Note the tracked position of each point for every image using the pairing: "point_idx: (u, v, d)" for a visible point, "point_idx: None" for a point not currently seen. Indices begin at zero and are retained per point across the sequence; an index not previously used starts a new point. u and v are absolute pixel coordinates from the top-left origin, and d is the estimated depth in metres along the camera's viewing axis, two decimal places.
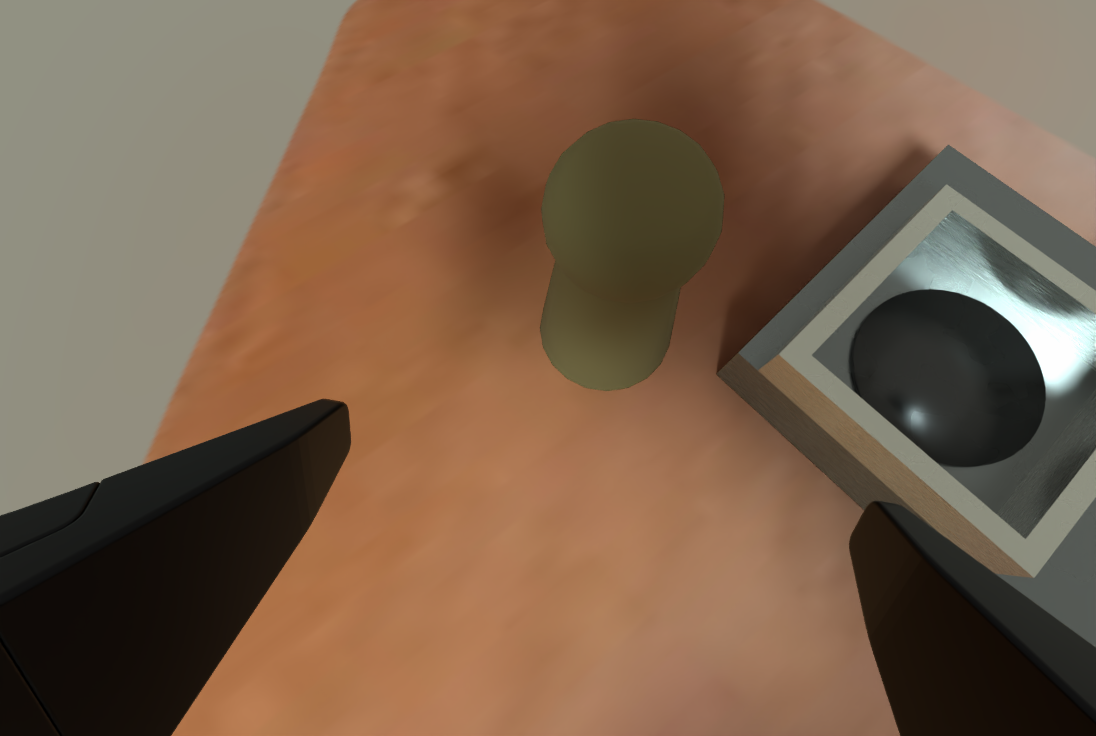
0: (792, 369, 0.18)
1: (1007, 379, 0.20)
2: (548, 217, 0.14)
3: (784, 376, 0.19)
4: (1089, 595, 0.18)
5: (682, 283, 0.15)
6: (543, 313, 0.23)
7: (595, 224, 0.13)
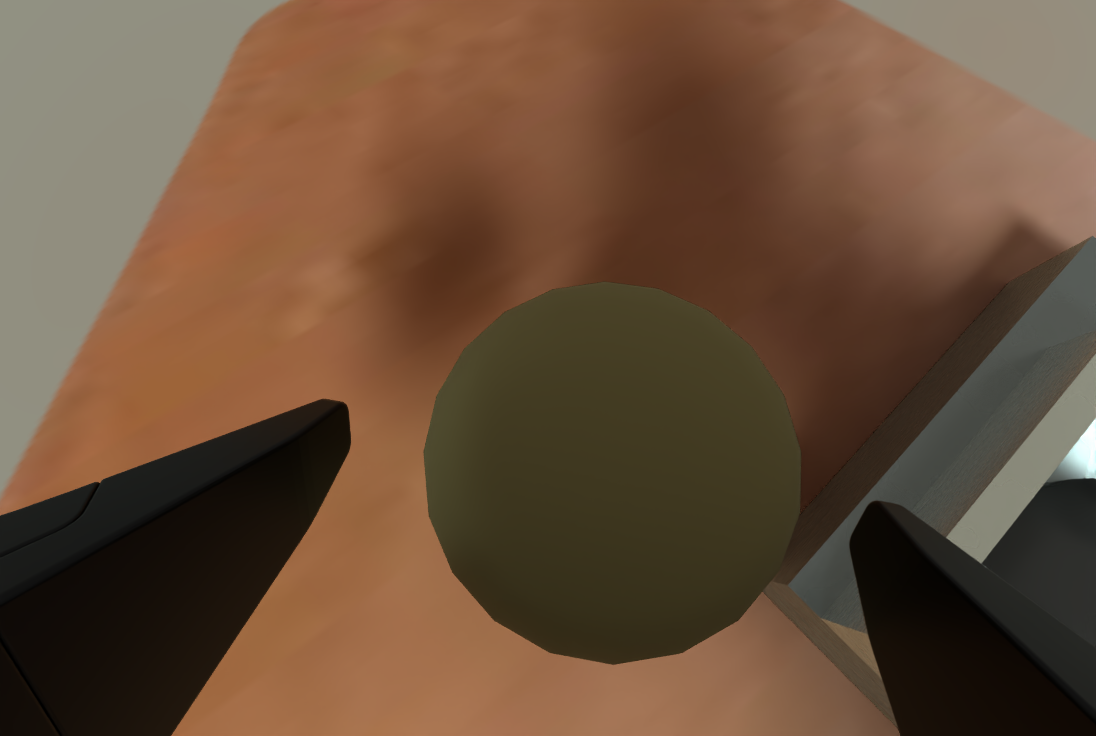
0: None
1: None
2: (427, 499, 0.07)
3: (871, 653, 0.11)
4: None
5: None
6: None
7: (515, 562, 0.06)
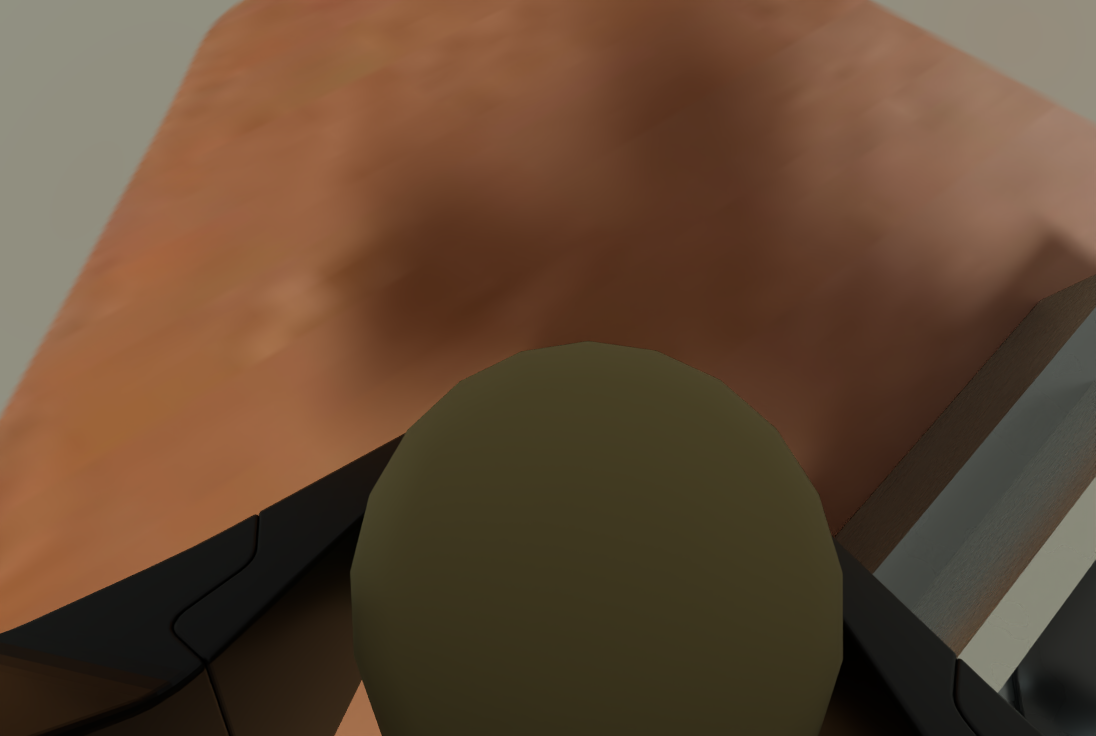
0: None
1: None
2: (354, 636, 0.05)
3: None
4: None
5: None
6: None
7: None
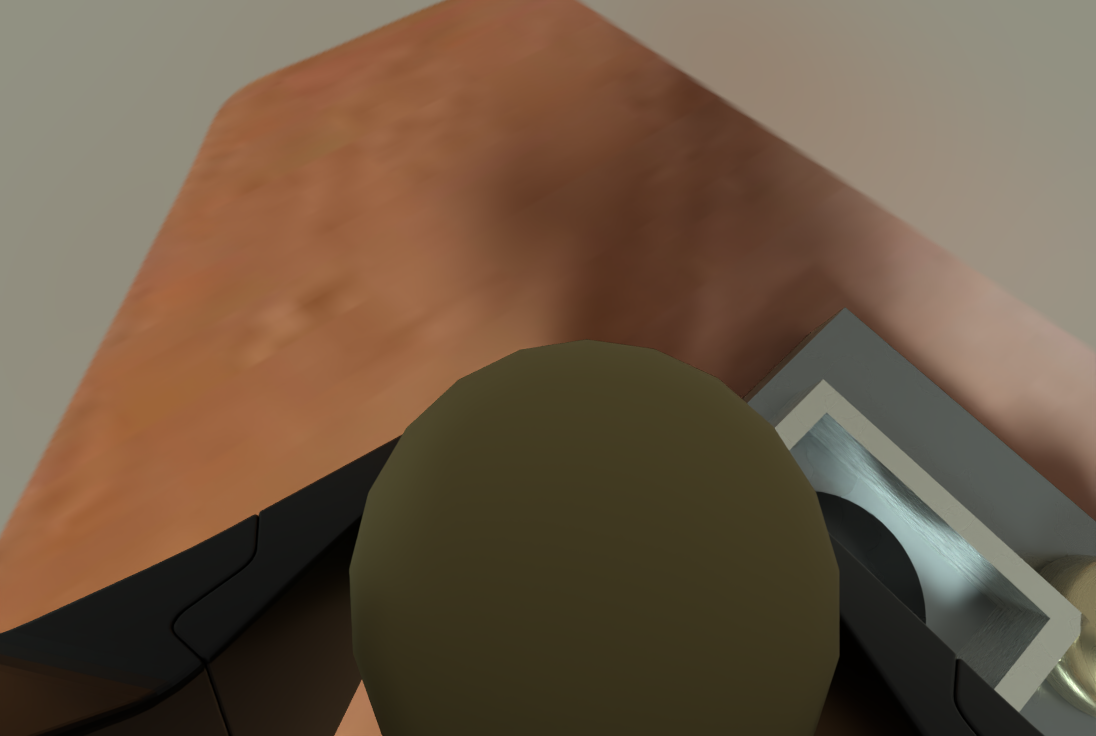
0: None
1: None
2: (353, 633, 0.05)
3: None
4: None
5: None
6: None
7: None
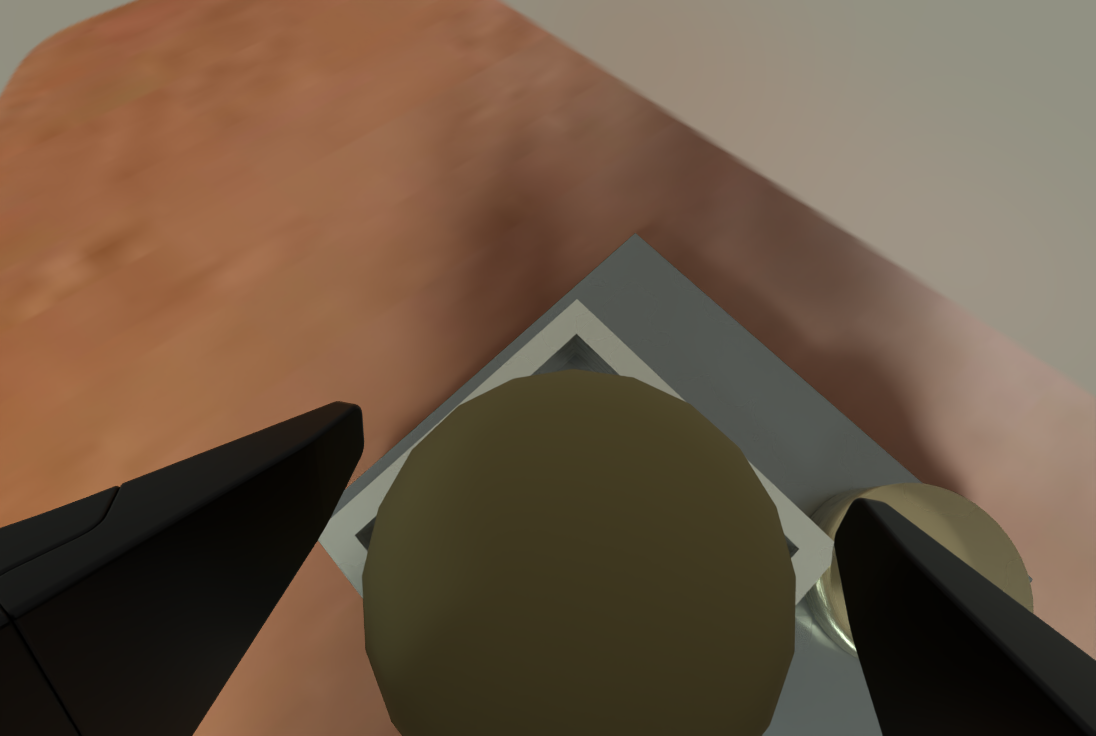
0: None
1: None
2: (365, 633, 0.06)
3: None
4: None
5: None
6: None
7: (457, 734, 0.05)
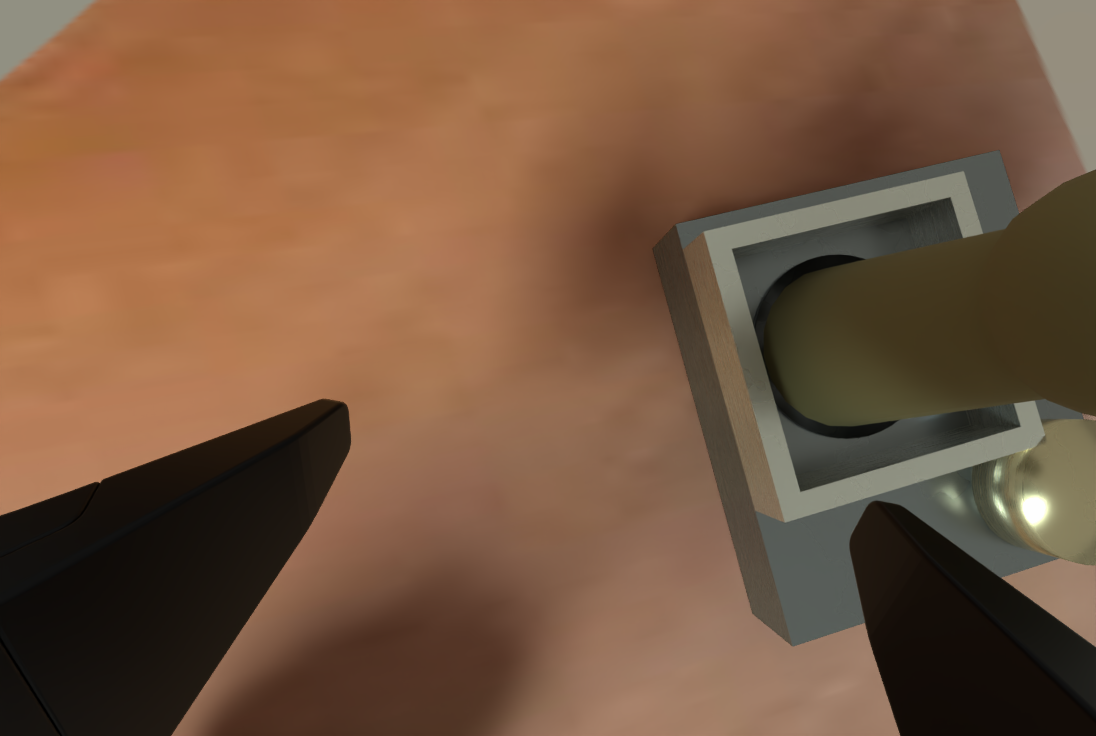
0: (707, 252, 0.18)
1: None
2: (1072, 246, 0.09)
3: (698, 260, 0.18)
4: (825, 571, 0.19)
5: None
6: (801, 299, 0.18)
7: None
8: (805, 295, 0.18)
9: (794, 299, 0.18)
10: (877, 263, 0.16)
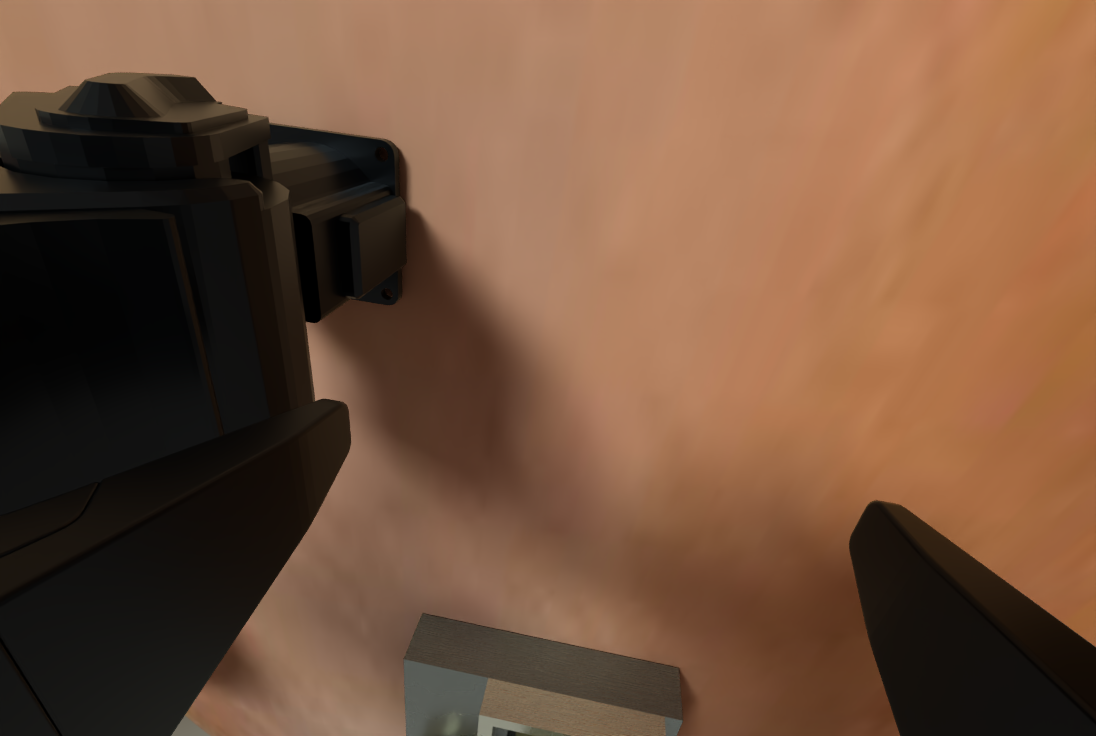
0: None
1: None
2: None
3: (651, 734, 0.28)
4: (439, 686, 0.31)
5: None
6: None
7: None
8: None
9: None
10: None
